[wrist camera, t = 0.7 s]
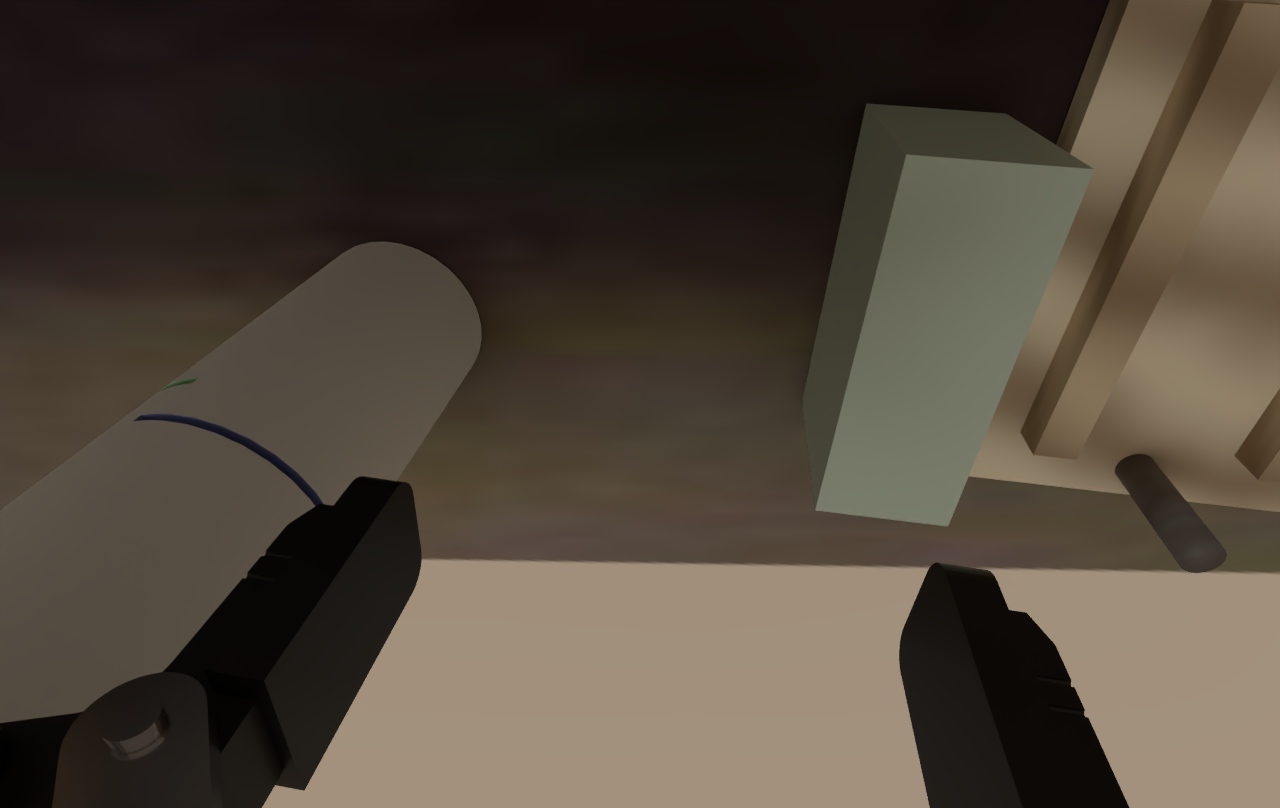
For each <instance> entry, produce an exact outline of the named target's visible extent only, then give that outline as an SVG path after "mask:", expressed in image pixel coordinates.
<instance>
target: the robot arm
mask: <svg viewBox="0 0 1280 808" xmlns="http://www.w3.org/2000/svg"><path fill="white" fill-rule="evenodd" d="M420 567H421V545H420V538H419V531H418V524H417V517H416V510H415V503H414V496H413V490H412V488H411V486H410V484H408V483H406V482H399V481H393V480H386V479H379V478H372V477H366V476H359V477H357V478H356V479H354V480H353V481H352V483H351V484H350V485H349V486H348V488H347V489H346V490H345V491H344V493H343V494H342V495H341V496H340V498H339V499H338V500H337V502H336V503H335V504H334V505H326V504H318V505H317V506H315V507H314V508H312V509H311V510H309V511H307V512H306V513H304V514H303V515H301V516H300V517H298V518H297V519H295V520H294V521H292V522H291V523H289V524H288V525H287V526H286V527H285V528H284V529H283V531H282V532H281V533H280V534H279V535H278V537H277V538H276V539H275V540H274V541H273V543H272V544H271V545H270V546H269V547H268V548H267V550H266V554H265V556H261V557H260V558H259V559H258V560H257V562H256V563H255V564H254V565H253V566H252V567H251V569H250V570H249V571H248V572H247V577H246V578H242V579H241V581H240V582H239V583H238V584H237V585H236V586H235V588H234V589H233V590H232V591H231V592H230V594H229V595H228V596H227V597H226V598H225V600H224V601H223V602H222V603H221V604H220V606H219V607H218V608H217V609H216V610H215V611H214V613H213V614H212V615H211V616H210V617H209V619H208V620H207V621H206V622H205V623H204V625H203V626H202V627H201V628H200V629H199V630H198V632H197V633H196V634H195V635H194V636H193V638H192V639H191V640H190V641H189V642H188V644H187V645H186V646H185V647H184V648H183V649H182V651H181V652H180V653H179V654H178V655H177V657H176V658H175V659H174V660H173V661H172V662H171V663H170V665H169V666H168V667H167V668H166V669H165V670H164V671H163V672H161V673H154V674H149V675H145V676H142V677H138V678H135V679H133V680H130V681H128V682H125V683H123V684H121V685H119V686H117V687H115V688H113V689H112V690H110V691H109V692H107V693H105V694H104V695H102V696H101V697H100V698H98V699H97V700H96V701H94V702H93V703H92V704H91V705H90V706H89V707H87V708H86V709H85V710H84V711H83V712H78V713H72V714H64V715H57V716H49V717H42V718H34V719H27V720H19V721H12V722H4V723H0V808H262V806H263V805H264V803H265V801H266V800H267V798H268V796H269V794H270V793H271V791H272V789H273V787H274V786H275V785H278V786H284V787H288V788H294V789H299V790H305V788H306V786H307V785H308V783H309V781H310V779H311V777H312V775H313V774H314V772H315V770H316V768H317V766H318V764H319V763H320V761H321V759H322V757H323V755H324V753H325V752H326V750H327V748H328V746H329V744H330V742H331V741H332V738H333V737H334V735H335V733H336V731H337V730H338V728H339V726H340V724H341V722H342V721H343V719H344V717H345V715H346V713H347V711H348V710H349V708H350V706H351V704H352V702H353V700H354V699H355V697H356V695H357V693H358V691H359V689H360V687H361V686H362V684H363V682H364V680H365V678H366V677H367V675H368V673H369V671H370V669H371V667H372V666H373V664H374V662H375V660H376V658H377V656H378V655H379V653H380V651H381V649H382V647H383V645H384V644H385V642H386V640H387V638H388V636H389V635H390V633H391V631H392V629H393V627H394V625H395V624H396V621H397V620H398V618H399V616H400V614H401V613H402V611H403V609H404V607H405V605H406V604H407V602H408V600H409V598H410V596H411V594H412V592H413V590H414V588H415V586H416V583H417V580H418V576H419V572H420ZM899 661H900V670H901V676H902V681H903V685H904V690H905V695H906V699H907V704H908V708H909V713H910V718H911V722H912V727H913V732H914V736H915V741H916V745H917V750H918V754H919V759H920V764H921V769H922V773H923V778H924V782H925V787H926V792H927V796H928V801H929V806H930V808H1129V806H1128V804H1127V802H1126V800H1125V797H1124V795H1123V793H1122V791H1121V789H1120V786H1119V784H1118V782H1117V780H1116V778H1115V775H1114V773H1113V771H1112V769H1111V767H1110V765H1109V762H1108V760H1107V758H1106V756H1105V754H1104V751H1103V749H1102V747H1101V745H1100V742H1099V740H1098V738H1097V736H1096V734H1095V731H1094V729H1093V727H1092V725H1091V723H1090V721H1089V718H1087V717H1085V716H1084V710H1085V709H1084V707H1083V705H1082V703H1081V701H1080V699H1079V696H1078V695H1077V692H1076V690H1075V688H1074V687H1071V679H1070V677H1069V674H1068V672H1067V670H1066V668H1065V666H1064V663H1063V661H1062V659H1061V657H1060V655H1059V652H1058V650H1057V648H1056V646H1055V644H1054V643H1053V642H1052V641H1051V640H1050V639H1049V638H1048V636H1047V635H1046V634H1045V633H1044V632H1043V631H1042V630H1041V629H1040V627H1039V626H1038V625H1037V624H1036V623H1035V622H1034V621H1033V620H1032V618H1030V616H1029V615H1028V614H1027V613H1025V612H1018V611H1012V610H1009V609H1008V607H1007V604H1006V602H1005V599H1004V597H1003V595H1002V592H1001V590H1000V587H999V585H998V582H997V580H996V578H995V576H994V575H993V574H992V573H991V572H990V571H988V570H983V569H976V568H969V567H963V566H956V565H949V564H942V563H934V564H933V565H931V567H930V568H929V570H928V572H927V574H926V576H925V579H924V581H923V584H922V586H921V588H920V591H919V593H918V595H917V598H916V600H915V602H914V605H913V607H912V609H911V612H910V614H909V617H908V619H907V621H906V624H905V626H904V628H903V631H902V635H901V640H900V650H899Z"/></svg>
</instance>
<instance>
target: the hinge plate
mask: <svg viewBox="0 0 1280 808" xmlns="http://www.w3.org/2000/svg"><path fill="white" fill-rule="evenodd" d="M1056 145H1057V146H1058V147H1060V148H1061V149H1063V150H1065V151H1066V152H1068V153H1069V154H1071V155H1073V156H1074V157H1076V158H1077V159H1079V160H1081V161H1082V162H1084V163H1085V164H1087V165H1088V166H1090V167H1092V168H1093V169H1095V170H1094V172H1093V174H1092V177H1091V179H1090V182H1089V184H1088V187H1087V189H1086V191H1085V194H1084V196H1083V199H1082V201H1081V204H1080V206H1079V209H1078V211H1077V213H1076V216H1075V218H1074V221H1073V223H1072V226H1071V228H1070V230H1069V233H1068V235H1067V238H1066V240H1065V243H1064V245H1063V247H1062V250H1061V252H1060V255H1059V257H1058V260H1057V262H1056V265H1055V267H1054V269H1053V272H1052V274H1051V277H1050V279H1049V282H1048V284H1047V286H1046V289H1045V291H1044V294H1043V296H1042V299H1041V301H1040V304H1039V306H1038V308H1037V311H1036V313H1035V316H1034V318H1033V321H1032V323H1031V325H1030V328H1029V330H1028V333H1027V335H1026V338H1025V340H1024V342H1023V345H1022V347H1021V350H1020V352H1019V355H1018V357H1017V360H1016V362H1015V364H1014V367H1013V369H1012V372H1011V374H1010V377H1009V379H1008V381H1007V384H1006V386H1005V389H1004V391H1003V394H1002V396H1001V398H1000V401H999V403H998V406H997V408H996V411H995V413H994V416H993V418H992V420H991V423H990V425H989V428H988V430H987V433H986V435H985V437H984V440H983V442H982V445H981V447H980V450H979V452H978V454H977V457H976V459H975V462H974V464H973V467H972V469H971V472H970V474H969V476H971V477H980V478H988V479H997V480H1006V481H1015V482H1023V483H1032V484H1041V485H1049V486H1058V487H1067V488H1075V489H1084V490H1093V491H1101V492H1110V493H1119V494H1127V495H1130V496H1131V497H1132V498H1133V500H1134V501H1135V503H1136V504H1137V505H1138V507H1139V508H1140V510H1141V511H1142V513H1143V514H1144V515H1145V517H1146V518H1147V520H1148V521H1149V523H1150V524H1151V525H1152V527H1153V528H1154V530H1155V531H1156V533H1157V534H1158V535H1159V537H1160V538H1161V540H1162V541H1163V543H1164V544H1165V545H1166V547H1167V548H1168V550H1169V551H1170V552H1171V554H1172V555H1173V557H1174V558H1175V560H1176V561H1177V562H1178V564H1179V565H1180V567H1181V568H1182V569H1184V570H1185V571H1188V572H1193V573H1200V572H1206V571H1210V570H1212V569H1215V568H1216V567H1218V566H1220V565H1221V564H1222V563H1223V562H1224V561H1225V559H1226V556H1227V553H1226V550H1225V549H1224V548H1223V547H1222V545H1221V544H1220V543H1219V542H1218V540H1217V539H1216V538H1215V536H1214V535H1213V534H1212V533H1211V531H1210V530H1209V529H1208V528H1207V526H1206V525H1205V524H1204V523H1203V521H1202V520H1201V519H1200V518H1199V516H1198V515H1197V514H1196V513H1195V511H1194V510H1193V509H1192V508H1191V506H1190V505H1189V504H1188V503H1187V501H1188V502H1197V503H1206V504H1214V505H1223V506H1232V507H1240V508H1249V509H1258V510H1266V511H1275V512H1280V0H1110V1H1109V3H1108V6H1107V9H1106V11H1105V14H1104V17H1103V20H1102V22H1101V25H1100V28H1099V30H1098V33H1097V36H1096V38H1095V41H1094V44H1093V46H1092V49H1091V52H1090V55H1089V57H1088V60H1087V63H1086V65H1085V68H1084V71H1083V73H1082V76H1081V79H1080V81H1079V84H1078V87H1077V90H1076V92H1075V95H1074V98H1073V100H1072V103H1071V106H1070V108H1069V111H1068V114H1067V116H1066V119H1065V122H1064V124H1063V127H1062V130H1061V133H1060V135H1059V138H1058V141H1057V143H1056Z"/></svg>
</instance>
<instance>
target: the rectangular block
mask: <svg viewBox="0 0 1280 808" xmlns="http://www.w3.org/2000/svg"><path fill="white" fill-rule="evenodd" d="M1094 170H1095V169H1093V168H1092V167H1090V166H1088V165H1087V164H1085V163H1084V162H1082V161H1081V160H1079V159H1077V158H1076V157H1074V156H1073V155H1071V154H1069V153H1068V152H1066V151H1065V150H1063V149H1061V148H1060V147H1058V146H1057V145H1055V144H1054V143H1052V142H1050V141H1049V140H1047V139H1046V138H1044V137H1042V136H1041V135H1039V134H1038V133H1036V132H1034V131H1033V130H1031V129H1030V128H1028V127H1026V126H1025V125H1023V124H1022V123H1020V122H1019V121H1017V120H1015V119H1014V118H1012V117H1011V116H1009V115H1007V114H1004V113H990V112H976V111H963V110H949V109H935V108H921V107H908V106H894V105H880V104H866V107H865V112H864V117H863V121H862V126H861V130H860V135H859V140H858V144H857V149H856V154H855V158H854V163H853V168H852V172H851V177H850V181H849V186H848V191H847V195H846V200H845V205H844V209H843V214H842V219H841V223H840V228H839V232H838V237H837V242H836V246H835V251H834V256H833V260H832V265H831V270H830V274H829V279H828V283H827V288H826V293H825V297H824V302H823V307H822V311H821V316H820V321H819V325H818V330H817V334H816V339H815V344H814V348H813V353H812V358H811V362H810V367H809V372H808V376H807V381H806V386H805V390H804V395H803V399H802V407H803V415H804V423H805V431H806V439H807V447H808V456H809V464H810V472H811V480H812V488H813V496H814V504H815V510H817V511H825V512H833V513H841V514H850V515H858V516H866V517H874V518H883V519H891V520H899V521H907V522H916V523H924V524H932V525H940V526H948V525H949V523H950V520H951V518H952V515H953V513H954V511H955V508H956V506H957V503H958V501H959V498H960V496H961V493H962V491H963V489H964V486H965V484H966V481H967V479H968V476H969V474H970V472H971V469H972V467H973V464H974V462H975V459H976V457H977V454H978V452H979V450H980V447H981V445H982V442H983V440H984V437H985V435H986V433H987V430H988V428H989V425H990V423H991V420H992V418H993V416H994V413H995V411H996V408H997V406H998V403H999V401H1000V398H1001V396H1002V394H1003V391H1004V389H1005V386H1006V384H1007V381H1008V379H1009V377H1010V374H1011V372H1012V369H1013V367H1014V364H1015V362H1016V360H1017V357H1018V355H1019V352H1020V350H1021V347H1022V345H1023V342H1024V340H1025V338H1026V335H1027V333H1028V330H1029V328H1030V325H1031V323H1032V321H1033V318H1034V316H1035V313H1036V311H1037V308H1038V306H1039V304H1040V301H1041V299H1042V296H1043V294H1044V291H1045V289H1046V286H1047V284H1048V282H1049V279H1050V277H1051V274H1052V272H1053V269H1054V267H1055V265H1056V262H1057V260H1058V257H1059V255H1060V252H1061V250H1062V247H1063V245H1064V243H1065V240H1066V238H1067V235H1068V233H1069V230H1070V228H1071V226H1072V223H1073V221H1074V218H1075V216H1076V213H1077V211H1078V209H1079V206H1080V204H1081V201H1082V199H1083V196H1084V194H1085V191H1086V189H1087V187H1088V184H1089V182H1090V179H1091V177H1092V174H1093V172H1094Z"/></svg>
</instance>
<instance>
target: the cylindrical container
mask: <svg viewBox="0 0 1280 808" xmlns="http://www.w3.org/2000/svg"><path fill="white" fill-rule="evenodd" d="M481 340H482V333H481V323H480V318H479V314H478V311H477V309H476V306H475V304H474V302H473V299H472V297H471V296H470V294H469V293H468V291H467V290H466V288H465V287H464V285H463V284H462V282H461V281H460V280H459V279H458V278H457V277H456V276H455V275H454V274H453V273H452V272H451V271H450V270H449V269H448V268H447V267H446V266H444V265H443V264H442V263H440V262H439V261H438V260H436V259H435V258H434V257H432V256H430V255H428V254H426V253H424V252H422V251H420V250H418V249H416V248H413V247H410V246H406V245H403V244H399V243H392V242H369V243H365V244H361V245H357V246H355V247H353V248H351V249H349V250H347V251H346V252H344V253H342V254H341V255H340V256H338V257H337V258H336V259H334V260H333V261H332V262H330V263H329V264H328V265H326V266H325V267H324V268H322V269H321V270H320V271H318V272H317V273H316V274H314V275H313V276H312V277H310V278H309V279H308V280H306V281H305V282H304V283H302V284H301V285H300V286H298V287H297V288H296V289H294V290H293V291H292V292H290V293H289V294H288V295H287V296H285V297H284V298H283V299H281V300H280V301H279V302H277V303H276V304H275V305H273V306H272V307H271V308H269V309H268V310H267V311H265V312H264V313H263V314H261V315H260V316H259V317H257V318H256V319H255V320H253V321H252V322H251V323H249V324H248V325H247V326H245V327H244V328H243V329H241V330H240V331H239V332H237V333H236V334H235V335H233V336H232V337H231V338H229V339H228V340H227V341H225V342H224V343H223V344H221V345H220V346H219V347H217V348H216V349H215V350H213V351H212V352H211V353H209V354H208V355H207V356H205V357H204V358H203V359H201V360H200V361H199V362H197V363H196V364H195V365H193V366H192V367H191V368H189V369H188V370H187V371H185V372H184V373H183V374H181V375H180V376H179V377H178V378H176V379H175V380H174V381H172V382H171V383H170V384H168V385H167V386H166V387H164V388H163V389H162V390H160V391H159V392H158V393H156V394H155V395H154V396H152V397H151V398H150V399H148V400H147V401H146V402H144V403H143V404H142V405H140V406H139V407H138V408H136V409H135V410H134V411H132V412H131V413H130V414H128V415H127V416H126V417H124V418H123V419H121V420H120V421H119V422H117V423H116V424H115V425H113V426H112V427H111V428H109V429H108V430H107V431H105V432H104V433H103V434H101V435H100V436H99V437H97V438H96V439H95V440H93V441H92V442H91V443H89V444H88V445H87V446H85V447H84V448H83V449H81V450H80V451H79V452H77V453H76V454H75V455H73V456H72V457H71V458H69V459H68V460H67V461H65V462H64V463H63V464H61V465H60V466H59V467H57V468H56V469H55V470H53V471H52V472H51V473H49V474H48V475H47V476H45V477H44V478H43V479H41V480H40V481H39V482H37V483H36V484H35V485H33V486H32V487H31V488H29V489H28V490H27V491H25V492H24V493H23V494H21V495H20V496H19V497H17V498H16V499H15V500H13V501H12V502H11V503H9V504H8V505H7V506H5V507H4V508H3V509H1V510H0V723H4V722H12V721H19V720H27V719H34V718H42V717H49V716H57V715H64V714H72V713H78V712H83V711H84V710H85V709H86V708H87V707H89V706H90V705H91V704H92V703H93V702H94V701H96V700H97V699H98V698H100V697H101V696H102V695H104V694H105V693H107V692H109V691H110V690H112V689H113V688H115V687H117V686H119V685H121V684H123V683H125V682H128V681H130V680H133V679H135V678H138V677H142V676H145V675H149V674H154V673H161V672H163V671H164V670H165V669H166V668H167V667H168V666H169V665H170V663H171V662H172V661H173V660H174V659H175V658H176V657H177V655H178V654H179V653H180V652H181V651H182V649H183V648H184V647H185V646H186V645H187V644H188V642H189V641H190V640H191V639H192V638H193V636H194V635H195V634H196V633H197V632H198V630H199V629H200V628H201V627H202V626H203V625H204V623H205V622H206V621H207V620H208V619H209V617H210V616H211V615H212V614H213V613H214V611H215V610H216V609H217V608H218V607H219V606H220V604H221V603H222V602H223V601H224V600H225V598H226V597H227V596H228V595H229V594H230V592H231V591H232V590H233V589H234V588H235V586H236V585H237V584H238V583H239V582H240V581H241V579H242V578H246V577H247V572H248V571H249V570H250V569H251V567H252V566H253V565H254V564H255V563H256V562H257V560H258V559H259V558H260V557H261V556H265V554H266V550H267V548H268V547H269V546H270V545H271V544H272V543H273V541H274V540H275V539H276V538H277V537H278V535H279V534H280V533H281V532H282V531H283V529H284V528H285V527H286V526H287V525H288V524H289V523H291V522H292V521H294V520H295V519H297V518H298V517H300V516H301V515H303V514H304V513H306V512H307V511H309V510H311V509H312V508H314V507H315V506H317V505H318V504H326V505H334V504H335V503H336V502H337V500H338V499H339V498H340V496H341V495H342V494H343V493H344V491H345V490H346V489H347V488H348V486H349V485H350V484H351V483H352V481H353V480H354V479H356V478H357V477H359V476H366V477H372V478H379V479H386V480H393V481H397V480H398V478H399V477H400V475H401V474H402V472H403V471H404V469H405V468H406V466H407V465H408V463H409V461H410V460H411V458H412V457H413V455H414V454H415V452H416V451H417V449H418V448H419V446H420V445H421V443H422V442H423V440H424V439H425V437H426V436H427V434H428V433H429V431H430V430H431V428H432V427H433V425H434V424H435V422H436V421H437V419H438V418H439V416H440V415H441V413H442V412H443V410H444V409H445V407H446V406H447V404H448V403H449V401H450V399H451V398H452V396H453V395H454V393H455V392H456V390H457V389H458V387H459V386H460V384H461V383H462V381H463V380H464V378H465V377H466V375H467V374H468V372H469V371H470V369H471V368H472V366H473V365H474V363H475V361H476V358H477V356H478V354H479V351H480V346H481Z"/></svg>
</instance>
